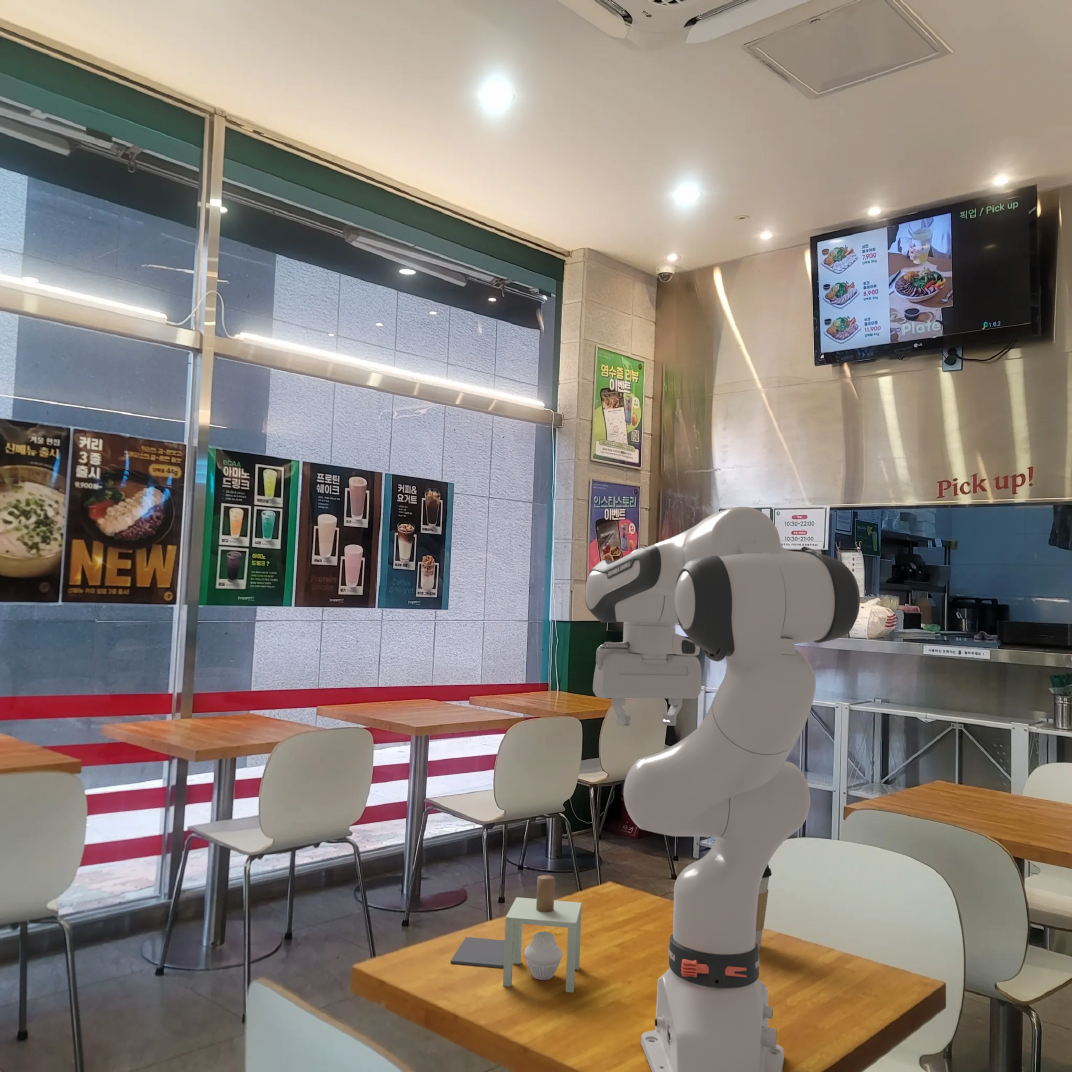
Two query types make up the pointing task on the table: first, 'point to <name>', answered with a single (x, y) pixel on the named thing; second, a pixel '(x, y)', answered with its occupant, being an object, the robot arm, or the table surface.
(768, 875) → the coffee cup
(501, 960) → the mat
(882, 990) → the table surface
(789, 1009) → the table surface
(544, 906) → the cover
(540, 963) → the muffin
